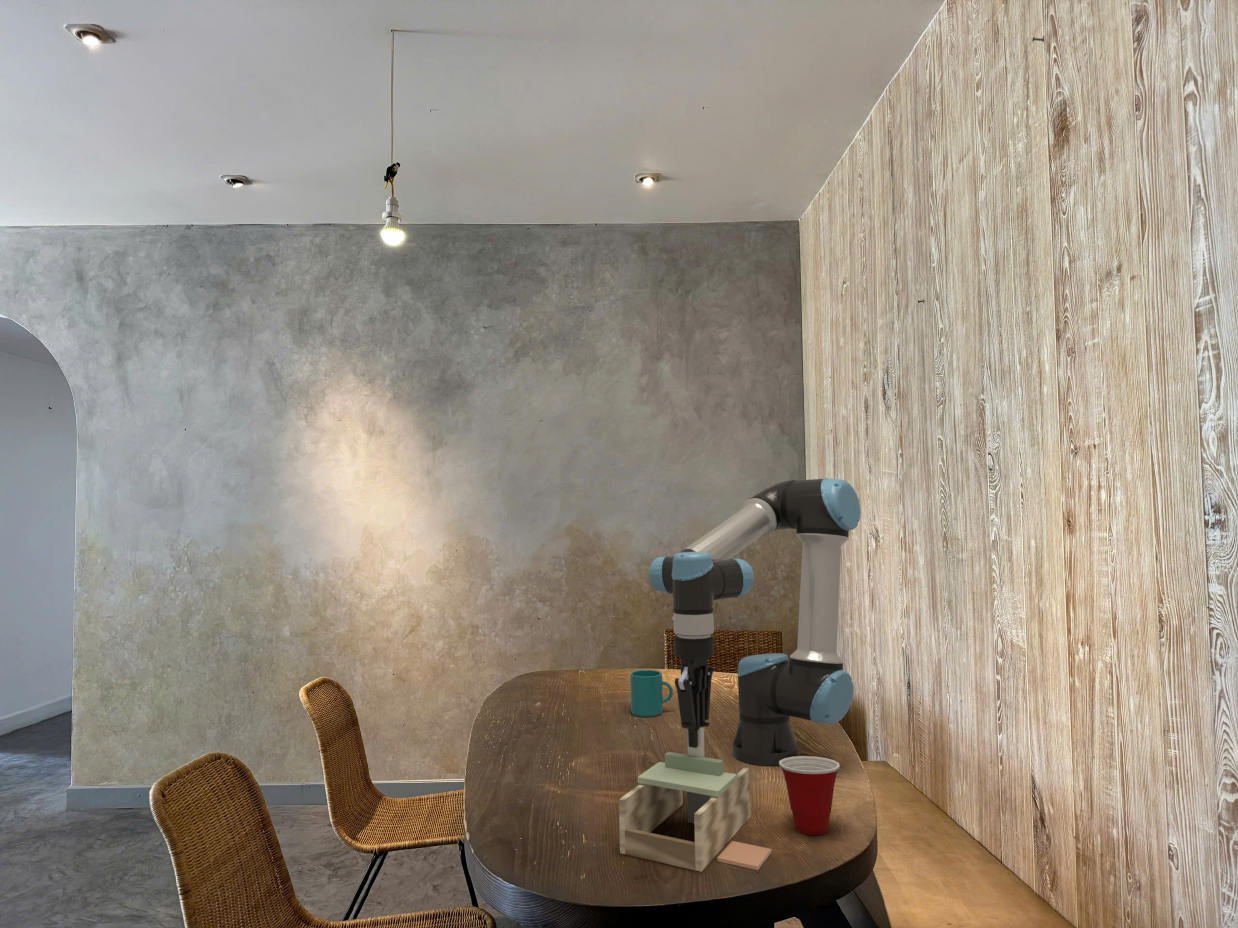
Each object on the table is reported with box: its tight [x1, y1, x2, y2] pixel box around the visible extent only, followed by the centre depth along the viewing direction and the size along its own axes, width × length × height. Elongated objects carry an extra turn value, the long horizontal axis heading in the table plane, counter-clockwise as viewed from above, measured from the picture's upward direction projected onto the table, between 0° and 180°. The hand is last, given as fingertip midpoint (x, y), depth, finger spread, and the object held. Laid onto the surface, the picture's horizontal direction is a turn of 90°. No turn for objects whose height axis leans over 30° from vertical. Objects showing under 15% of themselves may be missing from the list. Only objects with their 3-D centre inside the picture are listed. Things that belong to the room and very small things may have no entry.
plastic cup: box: [778, 755, 840, 836], centre depth 140 cm, size 11×11×12 cm
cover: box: [637, 751, 738, 797], centre depth 139 cm, size 9×16×3 cm, turn 61°
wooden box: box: [618, 767, 751, 872], centre depth 138 cm, size 24×15×9 cm, turn 151°
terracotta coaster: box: [716, 840, 772, 871], centre depth 129 cm, size 7×7×1 cm
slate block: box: [686, 791, 713, 824], centre depth 144 cm, size 4×4×8 cm
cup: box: [629, 669, 674, 718], centre depth 218 cm, size 9×12×11 cm
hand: (696, 762), depth 143 cm, fingers closed
